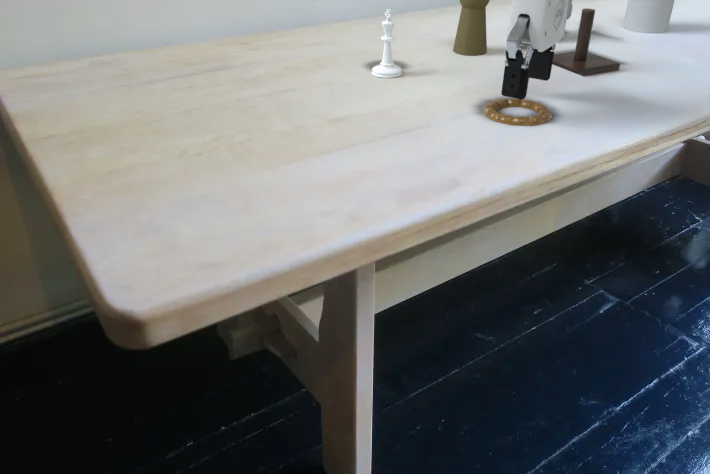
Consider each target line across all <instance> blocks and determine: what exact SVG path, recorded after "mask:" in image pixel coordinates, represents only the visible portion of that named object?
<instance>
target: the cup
mask: <svg viewBox="0 0 710 474" xmlns="http://www.w3.org/2000/svg"><path fill="white" fill-rule="evenodd" d="M674 5H675V0H627V5H626V10H625V15H624V20H623V24H622V28H623V29H624V30H626V31H629V32H633V33H640V34H650V35H651V34H654V35H655V34H663V33H664V34H665V33H667V32H668V30H669V25H670V21H671V17H672V13H673V9H674Z"/></svg>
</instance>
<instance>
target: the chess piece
mask: <svg viewBox="0 0 710 474" xmlns="http://www.w3.org/2000/svg"><path fill="white" fill-rule="evenodd" d="M384 16H385V17H386V19H385V20H382V21H381V26H382V29H383V33H384V35H382V36H381V37H380V39H381V40H382V41H384V43H383V44H384V45H383V53H382V59H381V62H379V64H377V65H374V66H373V67H372V68H371V75H372V76H374V77H377V78H382V79H391V78H397V77H400V76H402V75H403V72H402V71H403V70H402V67H400V66H398V65H396V64H395V62H394V61H393V54H392V53H393V52H392V41H394V40H395V36H393V35H392V33H393V31H394V30H393V29H394V28H395V25H396V22H395V21H393V20H391V19H392V18H393V13H391V9H390V8H386V12H384Z"/></svg>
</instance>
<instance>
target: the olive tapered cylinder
mask: <svg viewBox="0 0 710 474" xmlns="http://www.w3.org/2000/svg"><path fill="white" fill-rule="evenodd" d="M459 3H460V5H461V9H460V14H459V18H458V23H457V29H456V33H455V38H454V42H453V47H452V51H453V53H455V54H457V55H462V56H481V55H485V54H487V52H488V43H487V42H488V41H487V9H486V8H487V6H488V5H489V3H490V0H459Z"/></svg>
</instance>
